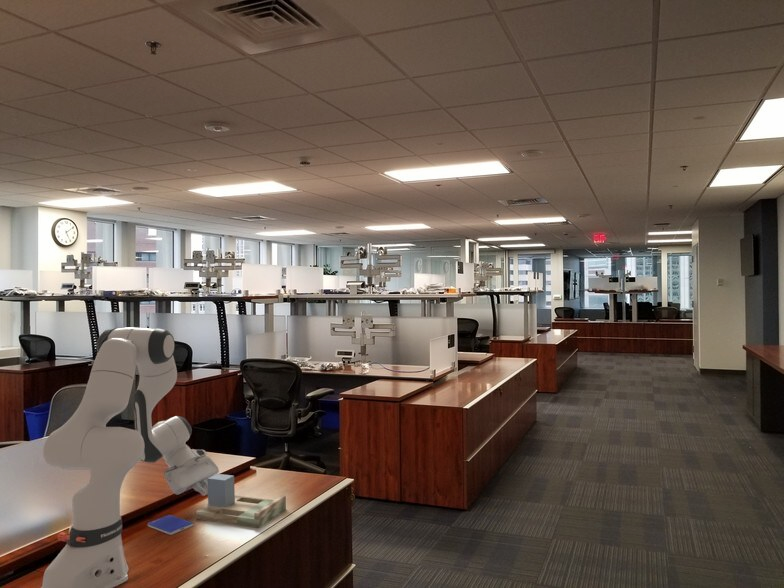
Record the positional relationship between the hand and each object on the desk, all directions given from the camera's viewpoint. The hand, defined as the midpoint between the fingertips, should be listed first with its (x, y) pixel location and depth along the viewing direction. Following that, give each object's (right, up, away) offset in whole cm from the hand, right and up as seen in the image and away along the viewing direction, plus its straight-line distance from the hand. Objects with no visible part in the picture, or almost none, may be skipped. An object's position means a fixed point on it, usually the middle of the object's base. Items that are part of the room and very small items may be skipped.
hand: (207, 493), depth 196 cm
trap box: (+13, -5, -5) cm, 15 cm away
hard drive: (-7, -6, -13) cm, 16 cm away
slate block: (+5, -3, -2) cm, 6 cm away
